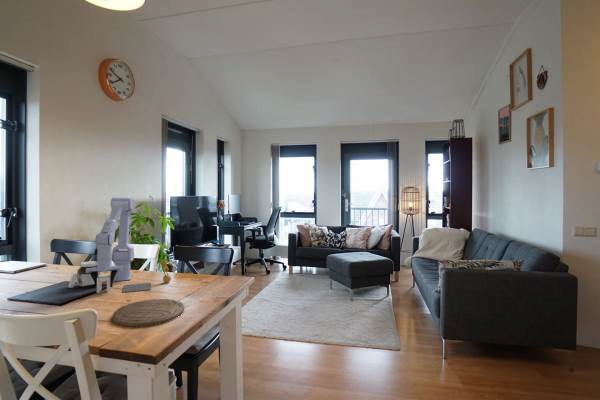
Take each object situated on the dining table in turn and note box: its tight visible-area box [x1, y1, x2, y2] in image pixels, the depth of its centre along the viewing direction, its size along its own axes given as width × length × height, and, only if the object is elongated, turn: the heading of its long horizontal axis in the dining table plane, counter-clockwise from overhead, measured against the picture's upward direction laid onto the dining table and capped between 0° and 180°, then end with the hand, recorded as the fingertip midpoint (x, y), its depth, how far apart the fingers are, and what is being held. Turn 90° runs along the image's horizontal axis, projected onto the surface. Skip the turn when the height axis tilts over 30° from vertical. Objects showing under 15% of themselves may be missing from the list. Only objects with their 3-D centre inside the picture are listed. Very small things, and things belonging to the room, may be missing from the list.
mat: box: [121, 282, 152, 294], centre depth 154 cm, size 12×12×1 cm
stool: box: [96, 274, 112, 294], centre depth 148 cm, size 5×5×7 cm
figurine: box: [157, 259, 173, 284], centre depth 165 cm, size 8×6×12 cm
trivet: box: [112, 298, 185, 328], centre depth 122 cm, size 25×25×2 cm
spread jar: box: [68, 260, 101, 289], centre depth 154 cm, size 12×11×12 cm
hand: (104, 286), depth 148 cm, fingers closed on stool, 5 cm apart
